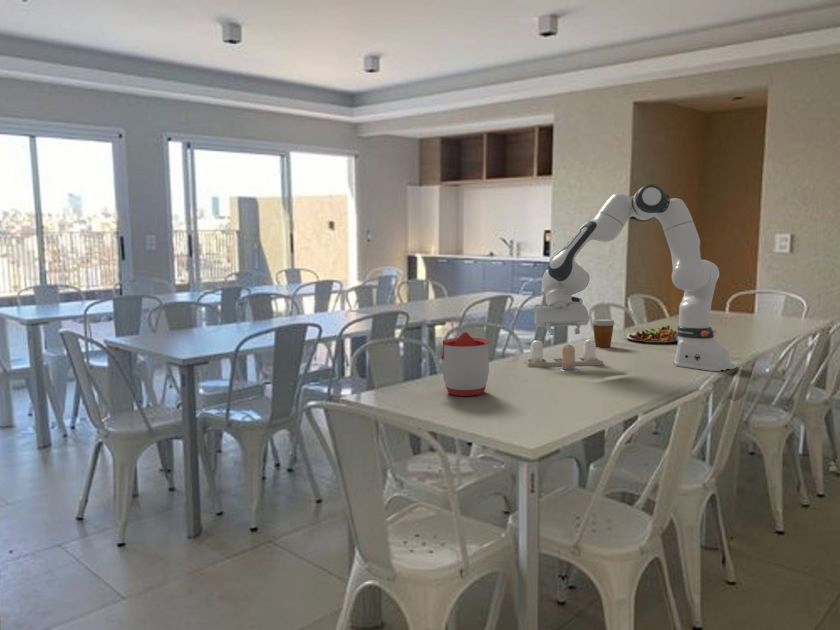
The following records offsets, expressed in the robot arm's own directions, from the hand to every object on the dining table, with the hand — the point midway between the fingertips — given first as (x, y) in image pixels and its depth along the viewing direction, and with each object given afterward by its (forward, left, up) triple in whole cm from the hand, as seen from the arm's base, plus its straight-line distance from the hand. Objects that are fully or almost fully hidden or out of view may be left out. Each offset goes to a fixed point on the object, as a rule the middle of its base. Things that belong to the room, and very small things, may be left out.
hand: (564, 333), depth 259 cm
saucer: (-5, +3, -13) cm, 15 cm away
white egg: (+9, +6, -12) cm, 16 cm away
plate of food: (+23, -79, -14) cm, 83 cm away
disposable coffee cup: (+25, -46, -14) cm, 54 cm away
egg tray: (+4, -3, -13) cm, 14 cm away
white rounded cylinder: (-1, -11, -12) cm, 17 cm away
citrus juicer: (-7, +51, -14) cm, 54 cm away
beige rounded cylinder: (-5, +3, -12) cm, 14 cm away
